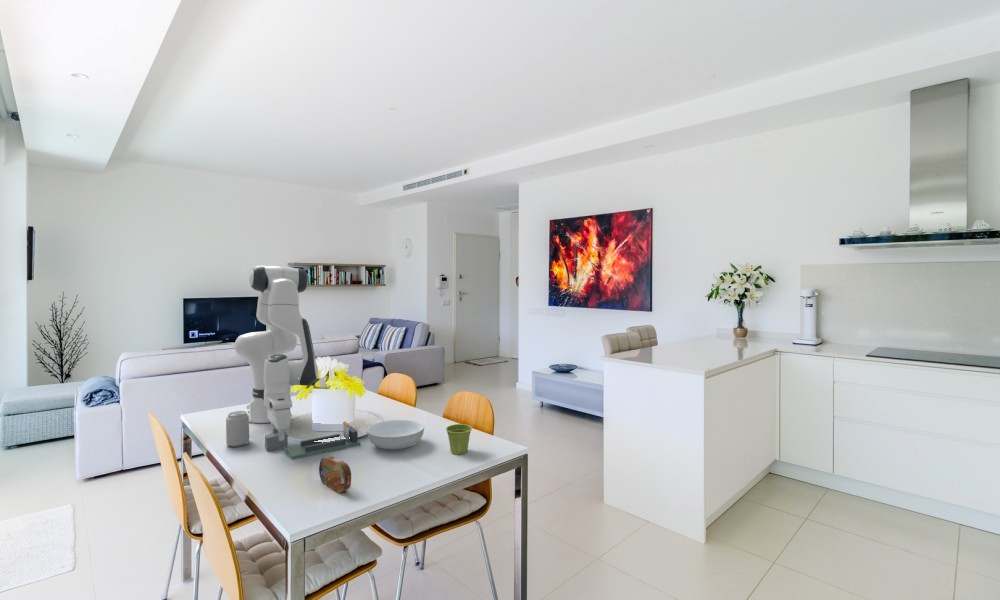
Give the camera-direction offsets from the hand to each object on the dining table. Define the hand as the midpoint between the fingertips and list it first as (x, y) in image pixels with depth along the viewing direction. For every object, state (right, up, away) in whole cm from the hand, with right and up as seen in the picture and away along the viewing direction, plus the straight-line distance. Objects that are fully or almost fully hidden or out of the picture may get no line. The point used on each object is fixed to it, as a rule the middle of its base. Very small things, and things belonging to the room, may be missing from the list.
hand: (278, 436), depth 170 cm
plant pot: (+67, -5, -2) cm, 67 cm away
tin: (+32, -6, -31) cm, 45 cm away
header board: (+16, -4, 0) cm, 17 cm away
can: (-17, -4, +4) cm, 18 cm away
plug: (-1, -4, 0) cm, 4 cm away
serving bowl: (+43, -5, +4) cm, 43 cm away
